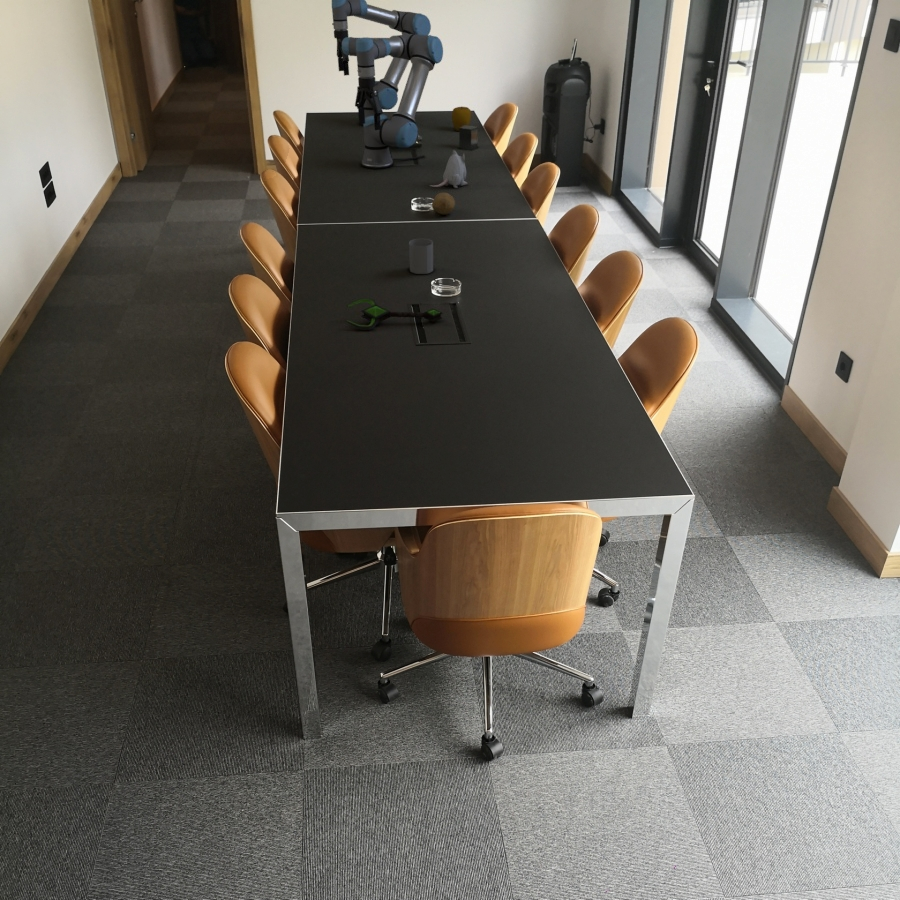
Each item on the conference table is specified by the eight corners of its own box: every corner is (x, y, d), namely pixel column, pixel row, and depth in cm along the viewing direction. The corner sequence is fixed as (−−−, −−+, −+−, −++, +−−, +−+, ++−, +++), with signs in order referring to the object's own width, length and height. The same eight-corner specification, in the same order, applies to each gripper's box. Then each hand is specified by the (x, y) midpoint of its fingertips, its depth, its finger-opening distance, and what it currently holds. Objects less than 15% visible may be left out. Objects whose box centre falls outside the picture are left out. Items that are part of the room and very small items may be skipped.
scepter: (442, 294, 271) (346, 291, 269) (443, 324, 264) (344, 322, 262) (441, 307, 276) (346, 304, 274) (442, 337, 269) (345, 335, 267)
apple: (471, 132, 486) (471, 108, 479) (451, 132, 486) (451, 108, 479) (470, 128, 495) (471, 104, 488) (452, 128, 495) (452, 104, 488)
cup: (409, 265, 311) (408, 238, 306) (432, 265, 312) (431, 238, 307) (410, 274, 304) (409, 246, 299) (433, 273, 305) (433, 246, 299)
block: (465, 145, 461) (465, 125, 455) (477, 147, 458) (477, 126, 452) (459, 148, 456) (459, 127, 451) (471, 150, 453) (471, 129, 447)
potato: (453, 208, 369) (453, 189, 365) (456, 218, 357) (456, 199, 353) (431, 208, 368) (430, 189, 364) (432, 218, 356) (432, 199, 352)
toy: (472, 184, 399) (472, 151, 391) (436, 195, 384) (436, 161, 376) (457, 180, 404) (458, 147, 396) (422, 191, 389) (421, 157, 381)
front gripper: (345, 73, 388) (348, 122, 400) (374, 82, 371) (377, 133, 383) (359, 71, 391) (362, 120, 403) (388, 80, 374) (391, 130, 386)
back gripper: (329, 27, 465) (332, 69, 477) (338, 33, 445) (341, 77, 457) (342, 26, 467) (345, 68, 479) (352, 32, 447) (355, 76, 459)
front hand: (369, 126), depth 393 cm, fingers open, 13 cm apart
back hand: (343, 73), depth 468 cm, fingers open, 13 cm apart
